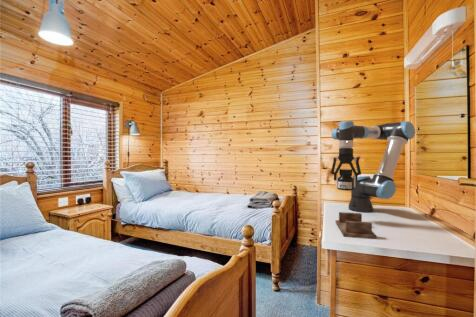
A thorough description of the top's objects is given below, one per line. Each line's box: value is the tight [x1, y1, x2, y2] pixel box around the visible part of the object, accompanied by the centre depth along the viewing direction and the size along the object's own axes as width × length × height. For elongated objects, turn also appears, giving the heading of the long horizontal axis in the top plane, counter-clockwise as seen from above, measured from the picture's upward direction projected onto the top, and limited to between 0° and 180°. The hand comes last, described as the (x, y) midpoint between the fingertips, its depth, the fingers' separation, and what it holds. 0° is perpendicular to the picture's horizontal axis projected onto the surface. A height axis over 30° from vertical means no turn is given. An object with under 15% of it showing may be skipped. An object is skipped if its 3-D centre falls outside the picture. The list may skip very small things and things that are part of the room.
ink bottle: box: [336, 168, 354, 192], centre depth 137 cm, size 10×9×12 cm
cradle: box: [335, 211, 377, 240], centre depth 120 cm, size 14×22×6 cm, turn 167°
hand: (345, 186), depth 137 cm, fingers closed on ink bottle, 9 cm apart
